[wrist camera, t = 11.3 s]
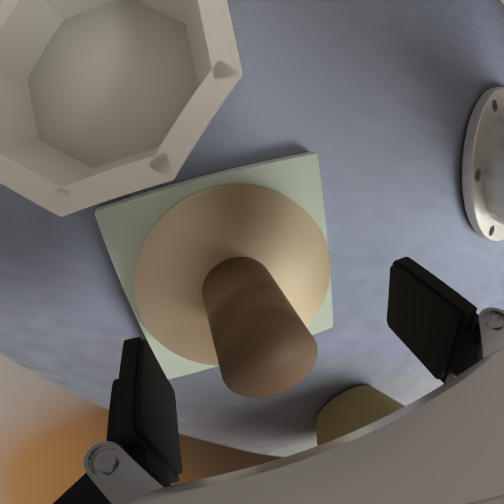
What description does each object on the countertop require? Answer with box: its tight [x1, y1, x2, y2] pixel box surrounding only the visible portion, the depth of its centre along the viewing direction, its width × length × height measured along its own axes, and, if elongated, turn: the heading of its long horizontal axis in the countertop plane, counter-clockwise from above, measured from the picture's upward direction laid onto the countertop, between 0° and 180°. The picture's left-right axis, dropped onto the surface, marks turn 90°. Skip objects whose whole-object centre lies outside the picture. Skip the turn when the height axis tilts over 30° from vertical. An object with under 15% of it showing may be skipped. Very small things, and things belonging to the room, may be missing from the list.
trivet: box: [94, 152, 333, 379], centre depth 15 cm, size 10×10×1 cm
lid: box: [134, 183, 331, 398], centre depth 12 cm, size 9×9×6 cm
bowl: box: [0, 0, 243, 217], centre depth 8 cm, size 8×8×5 cm
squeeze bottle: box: [315, 385, 405, 446], centre depth 15 cm, size 8×8×18 cm
